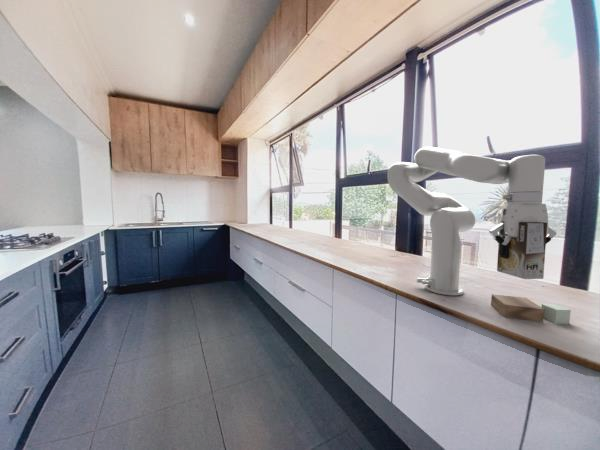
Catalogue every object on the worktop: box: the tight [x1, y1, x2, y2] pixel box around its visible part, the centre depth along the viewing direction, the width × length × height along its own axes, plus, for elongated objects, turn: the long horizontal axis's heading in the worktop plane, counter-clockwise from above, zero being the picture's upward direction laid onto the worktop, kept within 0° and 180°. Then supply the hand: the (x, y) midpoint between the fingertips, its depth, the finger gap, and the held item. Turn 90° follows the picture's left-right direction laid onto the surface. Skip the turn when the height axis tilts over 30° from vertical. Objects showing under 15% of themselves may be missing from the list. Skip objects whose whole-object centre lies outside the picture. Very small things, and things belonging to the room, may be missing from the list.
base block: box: [490, 294, 544, 323], centre depth 73 cm, size 9×9×4 cm
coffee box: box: [496, 222, 547, 280], centre depth 72 cm, size 9×6×16 cm
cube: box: [541, 303, 572, 325], centre depth 69 cm, size 4×4×4 cm
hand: (519, 258), depth 72 cm, fingers closed on coffee box, 7 cm apart
